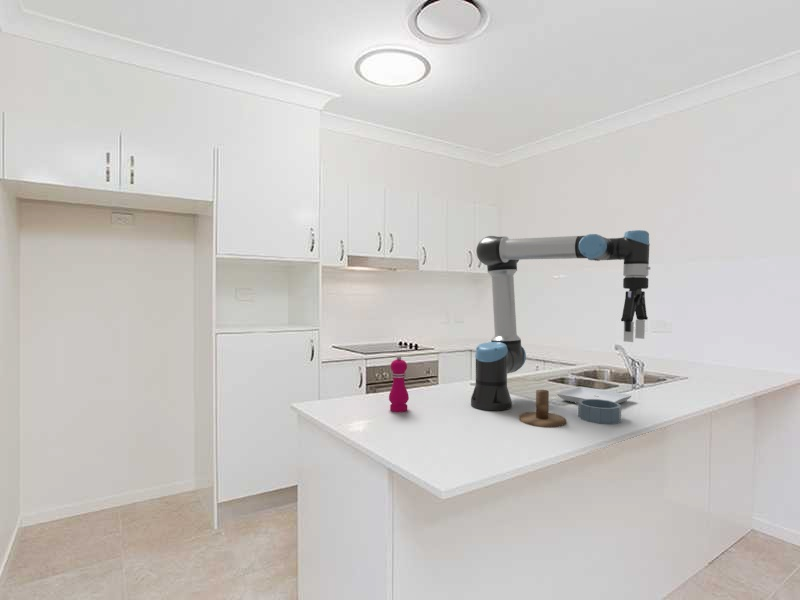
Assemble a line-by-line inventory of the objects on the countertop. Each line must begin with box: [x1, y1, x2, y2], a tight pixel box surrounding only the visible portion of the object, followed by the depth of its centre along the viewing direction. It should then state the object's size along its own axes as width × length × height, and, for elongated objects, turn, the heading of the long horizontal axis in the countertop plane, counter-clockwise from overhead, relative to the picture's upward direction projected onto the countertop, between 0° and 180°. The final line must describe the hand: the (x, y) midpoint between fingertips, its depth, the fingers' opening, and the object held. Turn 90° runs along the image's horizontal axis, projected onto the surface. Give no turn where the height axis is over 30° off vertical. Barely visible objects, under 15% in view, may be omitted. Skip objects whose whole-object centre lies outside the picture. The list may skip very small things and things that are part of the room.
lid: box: [518, 389, 567, 428], centre depth 152 cm, size 15×15×10 cm
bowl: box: [577, 399, 622, 425], centre depth 155 cm, size 13×13×5 cm
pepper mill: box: [388, 354, 410, 413], centre depth 166 cm, size 7×7×20 cm
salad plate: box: [556, 386, 632, 404], centre depth 179 cm, size 21×21×3 cm
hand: (634, 340), depth 153 cm, fingers open, 13 cm apart
